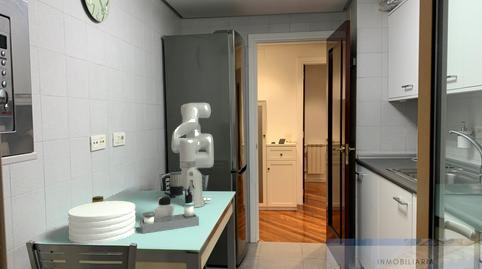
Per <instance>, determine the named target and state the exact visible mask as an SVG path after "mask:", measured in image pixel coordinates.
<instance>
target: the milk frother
mask: <svg viewBox="0 0 482 269" xmlns="http://www.w3.org/2000/svg"><path fill="white" fill-rule="evenodd" d="M167 179H169V184H168V186H169V192H166V191H167V181H166V180H167ZM183 189H184V187H183V186H182V171H177V172H169V174H165V176H163V178H162V190H163V192H164V195H166V196H167V197H169V198H170V199H171V198H176V196H182V195H184V190H183Z"/></svg>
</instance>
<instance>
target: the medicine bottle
mask: <svg viewBox="0 0 482 269" xmlns="http://www.w3.org/2000/svg"><path fill="white" fill-rule="evenodd" d="M171 200H172V199H171V197H169V196H161V197H159V198H158V199H157V204H158V206H157V207H155V208H154V213H155V216H154V218H157V217H164V216H172V215H175V206H174V205H171V202H172V201H171Z"/></svg>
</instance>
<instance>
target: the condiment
mask: <svg viewBox="0 0 482 269" xmlns="http://www.w3.org/2000/svg"><path fill="white" fill-rule="evenodd" d="M91 200H92V202H91V203H95V202H103V201H104V196H100V195H98V196H97V195H96V196H93V197H92V198H91Z"/></svg>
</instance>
